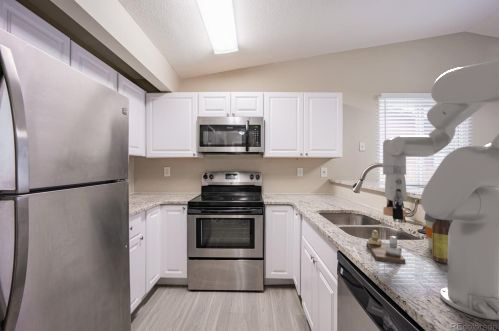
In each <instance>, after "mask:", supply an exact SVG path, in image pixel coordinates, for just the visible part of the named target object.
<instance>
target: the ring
mask: <svg viewBox="0 0 499 331" xmlns="http://www.w3.org/2000/svg"><path fill="white" fill-rule="evenodd" d="M382 208H383V214H382V215H384V216H388V217H393V208H394V207H387V206H384V207H382ZM406 211H407V210H406V209H405V208H404V207H403V218H404V217H406V216H407V212H406Z"/></svg>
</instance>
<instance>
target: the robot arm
mask: <svg viewBox="0 0 499 331" xmlns="http://www.w3.org/2000/svg"><path fill="white" fill-rule="evenodd" d="M430 92H431V94H430V95H431V98H432V100H433V101H434V102H436V103H435V104H434V105H432V107H430V108H429V110H428V111H427V113H426V118H427V120H428V121H427V122H429V123H430V124H431V125H432V126H433V127H434V129H433V130H432V131H431V132H430V133H428V134H427V135H417V134H416V135H413V134H411V135H408V134H407V135H406V134H405V135H398V136H395V137H394V138H393V137H392V138H388V139H385V140H384V141H383V143H382V175H385V179H384V180H385V182H384V196H385V198H386V207H394V208H393V216H392V219H393V220H397V221H398V220H399V221H400V220H401V221H402V220H403V219H404V217H403V208H404V202H406V201H407V200H408V199H407V194H408V193H407V182H406V175H407V158H411V157H415V158H417V157H418V158H427V157H431V156H433V155H436V154H437V153H439V152H440V151H442V150H443V149H445V148H446V147H447V146H449V145H450V144H451V142H452V140H454V136H455V134H456V128H457V127H458V126H459V125H461V124H462V123H464V122H465V121H466V120H467V119H469V118H471V117H472V116H473V115H474V114H476V113H477V112H478V111H480V110H481V109H482V108H484V107H485V106H486V105H487V104H499V59H495V60H491V61H484V62H480V63H476V64H470V65H466V66H462V67H455V68H453V69H450V70H447V71H446V72H444V73H442V74H441V75H440V76H439V77H438V78H437V79H436V80H435V81H434V83H433V85H432V87H431V91H430ZM498 188H499V132H498V133H497V135H495V137H494V138H493V139H492V140H491V141H490V142H489V143H488V144H486V145H467V146H461V147H458V148H456V149H453V150H452V151H450V152H449V153H447V155H445V157H444V158H443V159H442V161H441V162H440V163H439V165H438V166H437V168H436V170H435V171H434V172H433V174H432V176H431V177H430V179H429V180H428V182H427V183H426V185H425V187H424V188H423V191H422V193H421V196H420V203H421V207H422V209H423V211H424V212H425V213H427V214H428V215H429V216H431V217H433V218H436V219H440V220H453V221H452V223H451V225H450V228H449V232H448V263H447V281H446V282H447V286H446V287H443V288H441V289H440V290H439V296H440V298H441V299H442V301H443V302H445V303H446V304H448V305H449V306H450V307H452V308H454V309H456V310H458V311H460V312H463V313H465V314H468V315H470V316H474V317H477V318H482V319H486V320H491V321H493V320H494V321H499V189H498Z"/></svg>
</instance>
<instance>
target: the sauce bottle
mask: <svg viewBox="0 0 499 331" xmlns="http://www.w3.org/2000/svg"><path fill="white" fill-rule="evenodd" d="M449 228H450V222H449V220H440V219H436V220H435V222H434V223H433V225H432V249H431V252H432V254H431V255H432V258H433V260H434V261H436V262H438V263H442V264H448V232H449Z"/></svg>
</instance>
